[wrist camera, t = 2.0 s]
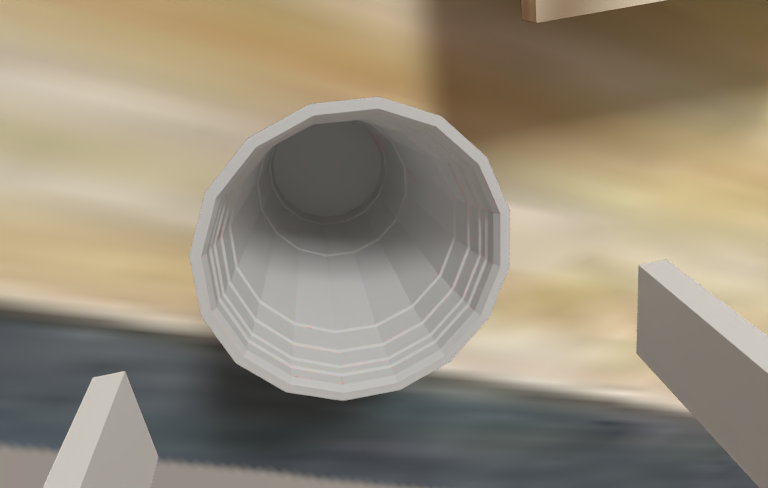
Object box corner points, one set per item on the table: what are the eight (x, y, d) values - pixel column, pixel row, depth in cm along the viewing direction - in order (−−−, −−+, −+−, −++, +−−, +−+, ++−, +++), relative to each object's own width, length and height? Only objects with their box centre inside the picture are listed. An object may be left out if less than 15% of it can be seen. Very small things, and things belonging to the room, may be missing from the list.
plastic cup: (477, 175, 33) (576, 279, 22) (316, 298, 34) (336, 452, 24) (348, -2, 29) (393, 21, 18) (169, 148, 30) (111, 253, 19)
